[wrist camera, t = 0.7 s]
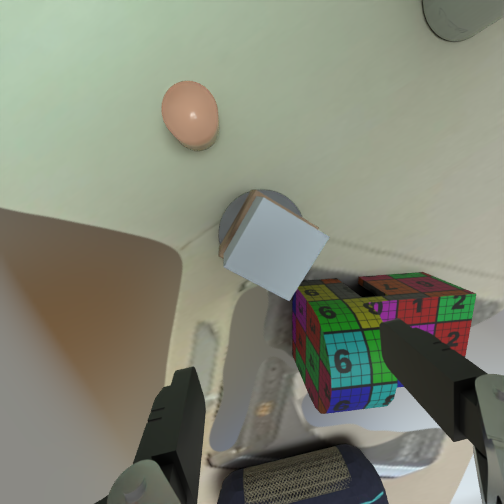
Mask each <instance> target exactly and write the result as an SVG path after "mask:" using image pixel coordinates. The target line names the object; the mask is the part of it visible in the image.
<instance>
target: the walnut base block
mask: <svg viewBox="0 0 504 504" xmlns="http://www.w3.org/2000/svg"><path fill="white" fill-rule="evenodd" d="M256 196H259V197H264V198H266V199H267V200H269V201H271V202H272V203H274V204H276V205H277V206H279V207H281V208H282V209H284V210H286V211H287V212H289V213H291V214H292V215H294V216H296V217H297V218H299V219H301V220H302V221H304V222H306V223H307V224H309V225H311V226H312V227H314V228H316V229H317V230H318V229H319V227H317V226H315V225H314V224H312V223H310V222H309V221H307V220H305V219H304V218H302V217H300V216H299V215H297V214H295V213H294V212H292V211H290V210H289V209H287V208H286V207H284V206H282V205H281V204H279V203H277V202H276V201H274V200H272V199H271V198H269V197H267V196H266V195H264V194H262V193H261V192H259V191H257V190H251V191H250V193H249V195H248V197H247V198H246V200H245V202H244V204H243V206H242V207H241V209H240V211H239V213H238V214H237V216H236V218H235V220H234V222H233V223H232V225H231V227H230V229H229V230H228V232H227V234H226V236H225V238H224V239H223V241H222V243H221V245H220V246H219V257H221V258H223V259H224V252H225V251H226V249H227V247H228V245H229V244H230V242H231V240H232V238H233V237H234V235H235V233H236V231H237V230H238V228H239V226H240V224H241V223H242V221H243V219H244V217H245V215H246V214H247V212H248V210H249V208H250V207H251V205H252V203H253V201H254V200H255V198H256Z"/></svg>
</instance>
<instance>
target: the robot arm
mask: <svg viewBox="0 0 504 504" xmlns="http://www.w3.org/2000/svg"><path fill="white" fill-rule="evenodd" d="M423 7H424V13H425V16H426V20H427V22H428V24H429V25H430V27H431V29H432V30H433V31H434V32H435V33H436V34H437V35H438V36H440V37H441V38H443V39H446V40H448V41H462V40H466V39H468V38H470V37H472V36H474V35H475V34H477V33H478V32H480V31H482V30H483V29H485V28H486V27H488V26H490V25H491V24H493V23H494V22H496V21H498V20H499V19H501V18H502V17H504V0H423ZM379 329H380V340H381V352H382V357H383V360H384V363H385V364H386V366H387V368H388V369H389V370H390V371H391V372H392V374H393V375H394V376H395V377H396V378H397V379H398V380H399V381H400V383H401V384H402V385H403V386H404V387H405V388H406V389H407V390H408V391H409V393H410V394H411V395H412V396H413V397H414V398H415V399H416V400H417V402H418V403H419V404H420V405H421V406H422V407H423V408H424V409H425V410H426V411H427V413H428V414H429V415H430V416H431V417H432V418H433V419H434V420H435V422H436V423H437V424H438V425H439V426H440V427H441V428H442V429H443V431H444V432H445V433H446V434H447V435H448V436H449V437H450V438H451V440H452V441H453V442H456V441H460V440H464V439H468V440H469V441H470V442H471V443H472V444H473V453H474V458H475V464H476V470H477V476H478V481H479V487H480V493H481V499H482V504H504V376H503V375H497V374H487V373H486V372H484V371H483V370H482V369H480V368H479V367H477V366H476V365H475V364H473V363H472V362H470V361H469V360H468V359H466V358H465V357H463V356H462V355H461V354H459V353H458V352H456V351H455V350H453V349H451V347H449V346H448V345H446V344H445V343H444V342H443V343H442V342H441V340H439V339H438V338H437V337H435V336H434V335H432V334H431V333H429V332H427V331H424V330H421V329H419V328H416V327H415V328H412V327H410V326H409V325H408V324H406V323H405V322H404V321H402V320H401V319H394V320H390V321H386V322H381V323H380V326H379ZM205 413H206V408H205V399H204V395H203V392H202V389H201V385H200V382H199V379H198V375H197V372H196V369H195V367H189V368H185V369H181V370H177V371H175V373H174V376H173V380H172V383H171V385H170V386H166V387H163V389H162V390H161V391H160V393H159V394H158V395H157V397H156V398H155V400H154V403H153V406H152V409H151V413H150V415H149V418H148V423H147V424H146V427H145V430H144V433H143V436H142V439H141V441H140V444H139V448H138V450H137V453H136V456H135V459H134V462H133V465H131V466H130V467H129V468H127V469H126V470H125V471H124V472H123V473H122V474H121V475H120V476H119V477H118V479H117V480H116V481H115V483H114V484H113V486H112V488H111V490H110V492H109V495H108V496H106V497H105V498H103V499H102V500H100V501H98V502H96V503H95V504H197V499H198V488H199V477H200V467H201V456H202V446H203V435H204V424H205Z"/></svg>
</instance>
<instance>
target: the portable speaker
mask: <svg viewBox="0 0 504 504" xmlns="http://www.w3.org/2000/svg"><path fill="white" fill-rule="evenodd" d="M217 504H389V503H388V500H387V496H386V491H385V489H384V486H383V484H382V481H381V479H380V477H379V475H378V473H377V471H376V470H375V468H374V466H373V465H372V464H371V463H370V461H369V460H368V459H367V458H366V457H365V456H364V454H363V453H362V452H361V450H360V449H358V448H357V447H354V446H351V445H348V444H342V445H337V446H334V447H330V448H326V449H322V450H318V451H314V452H309V453H305V454H301V455H297V456H293V457H289V458H285V459H281V460H277V461H273V462H269V463H264V464H261V465H256V466H252V467H248V468H243V469H239V470H236V471H233V472H232V473H231V474H230V475H229V476H228V477H227V478H226V479H224V481H223V484H222V489H221V491H220V495H219V498H218V502H217Z"/></svg>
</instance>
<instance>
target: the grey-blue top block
mask: <svg viewBox="0 0 504 504" xmlns="http://www.w3.org/2000/svg"><path fill="white" fill-rule="evenodd" d="M328 239H329V236H327V235H326V234H324V233H322V232H321V231H319V230H317V229H316V228H314V227H312V226H311V225H309V224H307V223H306V222H304V221H302V220H301V219H299V218H297V217H296V216H294V215H292V214H291V213H289V212H287V211H286V210H284V209H282V208H281V207H279V206H277V205H276V204H274V203H272V202H271V201H269V200H267V199H266V198H264V197H259V196H256V198H255V200H254V201H253V203H252V205H251V207H250V208H249V210H248V212H247V214H246V215H245V217H244V219H243V221H242V223H241V224H240V226H239V228H238V230H237V231H236V233H235V235H234V237H233V238H232V240H231V242H230V244H229V245H228V247H227V249H226V251H225V252H224V268H226V269H228V270H230V271H232V272H234V273H236V274H238V275H240V276H242V277H243V278H245V279H247V280H249V281H251V282H253V283H255V284H257V285H259V286H261V287H263V288H265V289H267V290H269V291H271V292H272V293H274V294H276V295H278V296H280V297H282V298H284V299H286V300H288V301H290V299H291V298H292V296H293V295H294V293H295V291H296V290H297V288H298V287H299V285H300V283H301V282H302V280H303V279H304V277H305V276H306V274H307V272H308V271H309V269H310V268H311V266H312V264H313V263H314V261H315V260H316V258H317V256H318V255H319V253H320V252H321V250H322V249H323V247H324V245H325V244H326V242H327V241H328Z"/></svg>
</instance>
